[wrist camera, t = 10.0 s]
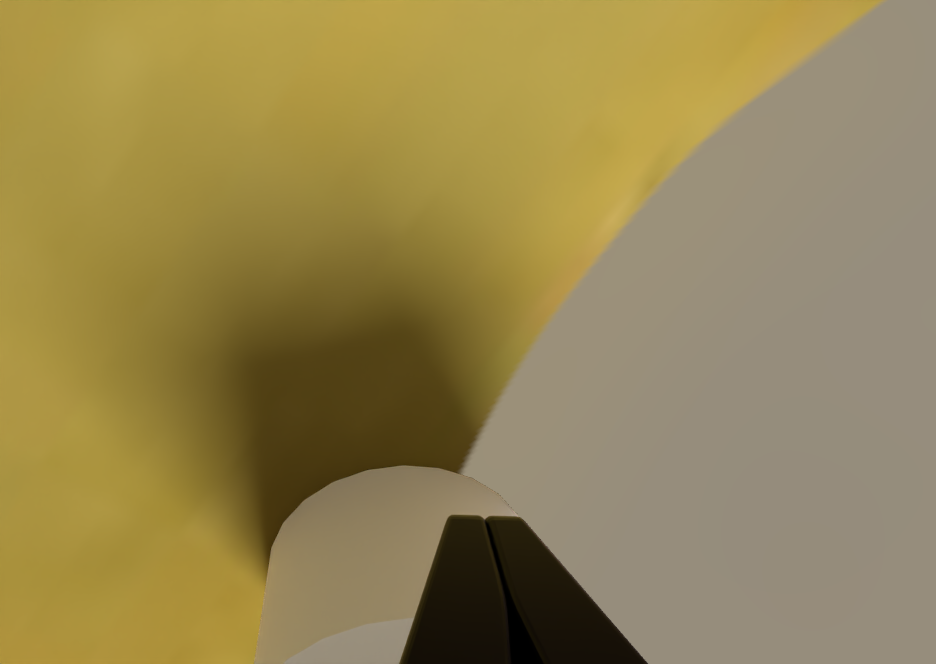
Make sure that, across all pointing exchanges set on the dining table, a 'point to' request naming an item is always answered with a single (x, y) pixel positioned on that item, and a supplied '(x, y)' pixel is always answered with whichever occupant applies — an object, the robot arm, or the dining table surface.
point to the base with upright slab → (360, 564)
